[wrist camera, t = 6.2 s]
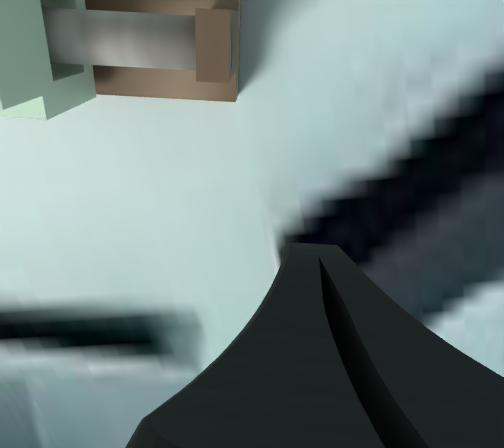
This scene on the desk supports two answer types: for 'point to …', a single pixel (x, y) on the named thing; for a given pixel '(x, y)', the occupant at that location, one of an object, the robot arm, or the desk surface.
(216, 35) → the rod stand
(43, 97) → the mint green stepped block
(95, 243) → the desk surface
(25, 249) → the desk surface
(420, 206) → the desk surface
